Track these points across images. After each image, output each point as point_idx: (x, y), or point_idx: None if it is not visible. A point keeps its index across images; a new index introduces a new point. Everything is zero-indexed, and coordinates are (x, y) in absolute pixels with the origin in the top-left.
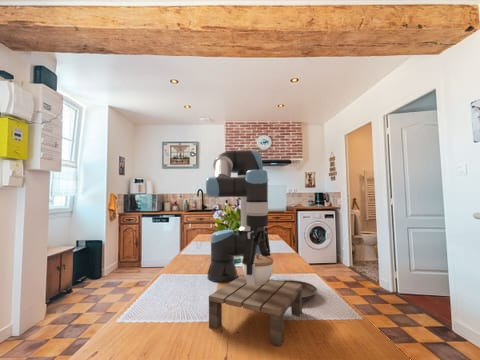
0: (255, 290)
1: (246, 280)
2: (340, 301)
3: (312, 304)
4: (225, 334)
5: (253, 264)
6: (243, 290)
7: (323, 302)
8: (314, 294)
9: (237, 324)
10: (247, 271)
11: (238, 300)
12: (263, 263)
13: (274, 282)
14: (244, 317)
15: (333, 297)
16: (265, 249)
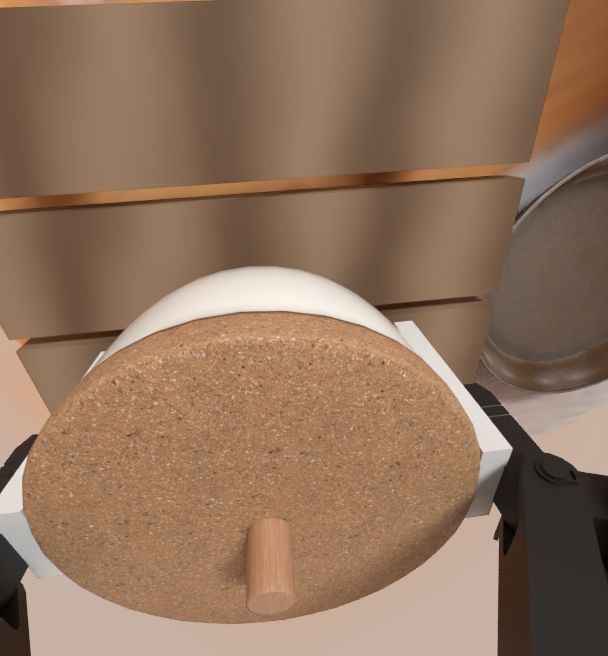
0: None
1: (88, 370)
2: (533, 432)
3: (486, 375)
4: (50, 198)
5: (43, 572)
6: (187, 247)
7: (513, 397)
8: (539, 388)
9: (163, 196)
10: (9, 471)
11: (18, 311)
12: (154, 611)
13: (436, 347)
14: (244, 189)
15: (566, 410)
16: (499, 644)
